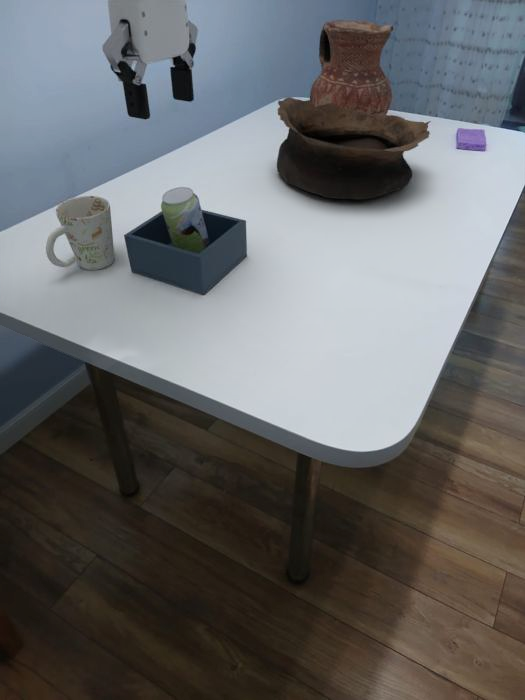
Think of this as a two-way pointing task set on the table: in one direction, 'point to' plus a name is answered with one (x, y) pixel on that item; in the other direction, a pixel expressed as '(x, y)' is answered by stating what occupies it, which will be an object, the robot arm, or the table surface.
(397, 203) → the table surface
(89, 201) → the mug
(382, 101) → the jug
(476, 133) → the sponge
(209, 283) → the bin
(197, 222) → the beverage can
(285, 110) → the bowl
